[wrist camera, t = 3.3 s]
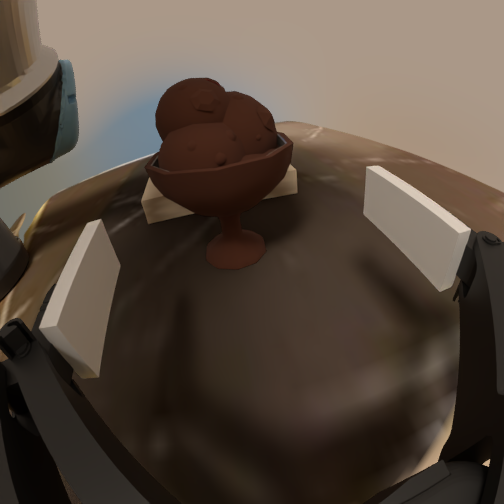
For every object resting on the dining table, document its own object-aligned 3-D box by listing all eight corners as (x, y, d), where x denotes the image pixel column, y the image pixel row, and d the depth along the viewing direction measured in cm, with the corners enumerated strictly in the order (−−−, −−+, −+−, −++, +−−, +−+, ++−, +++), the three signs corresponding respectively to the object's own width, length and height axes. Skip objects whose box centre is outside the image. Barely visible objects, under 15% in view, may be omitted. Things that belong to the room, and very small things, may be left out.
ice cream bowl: (226, 315, 20) (175, 79, 11) (157, 253, 27) (113, 98, 18) (322, 246, 25) (317, 65, 16) (241, 209, 32) (221, 74, 23)
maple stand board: (148, 224, 32) (141, 201, 31) (160, 175, 47) (156, 159, 45) (297, 193, 34) (296, 169, 32) (262, 154, 49) (260, 138, 47)
